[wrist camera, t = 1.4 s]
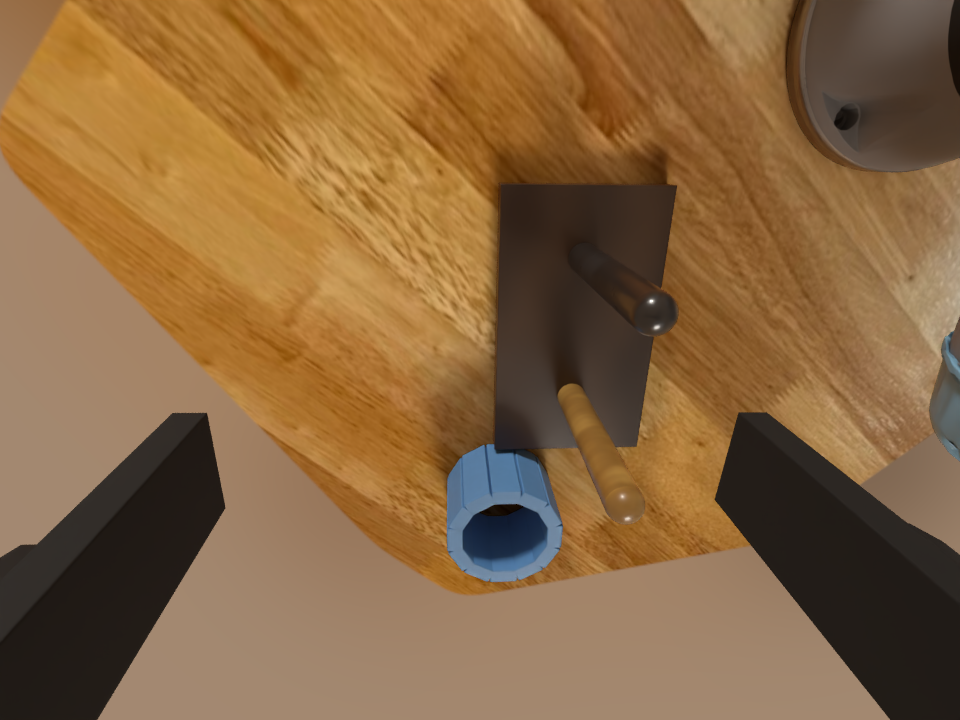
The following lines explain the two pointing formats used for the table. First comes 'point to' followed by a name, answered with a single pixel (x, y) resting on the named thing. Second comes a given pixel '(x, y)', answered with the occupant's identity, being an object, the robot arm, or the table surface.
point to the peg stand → (580, 322)
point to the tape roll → (501, 539)
